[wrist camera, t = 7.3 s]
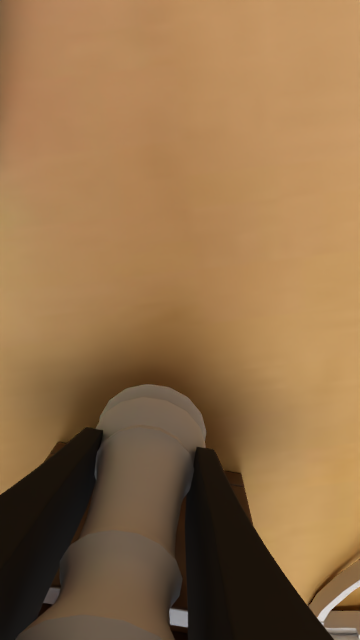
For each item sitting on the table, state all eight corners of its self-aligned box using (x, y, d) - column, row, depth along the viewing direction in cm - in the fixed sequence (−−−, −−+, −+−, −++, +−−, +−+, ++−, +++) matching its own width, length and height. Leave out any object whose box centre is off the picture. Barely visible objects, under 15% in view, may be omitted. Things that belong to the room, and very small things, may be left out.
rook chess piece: (222, 448, 12) (288, 848, 4) (132, 482, 12) (30, 887, 4) (177, 361, 11) (140, 647, 3) (82, 403, 11) (-158, 732, 4)
